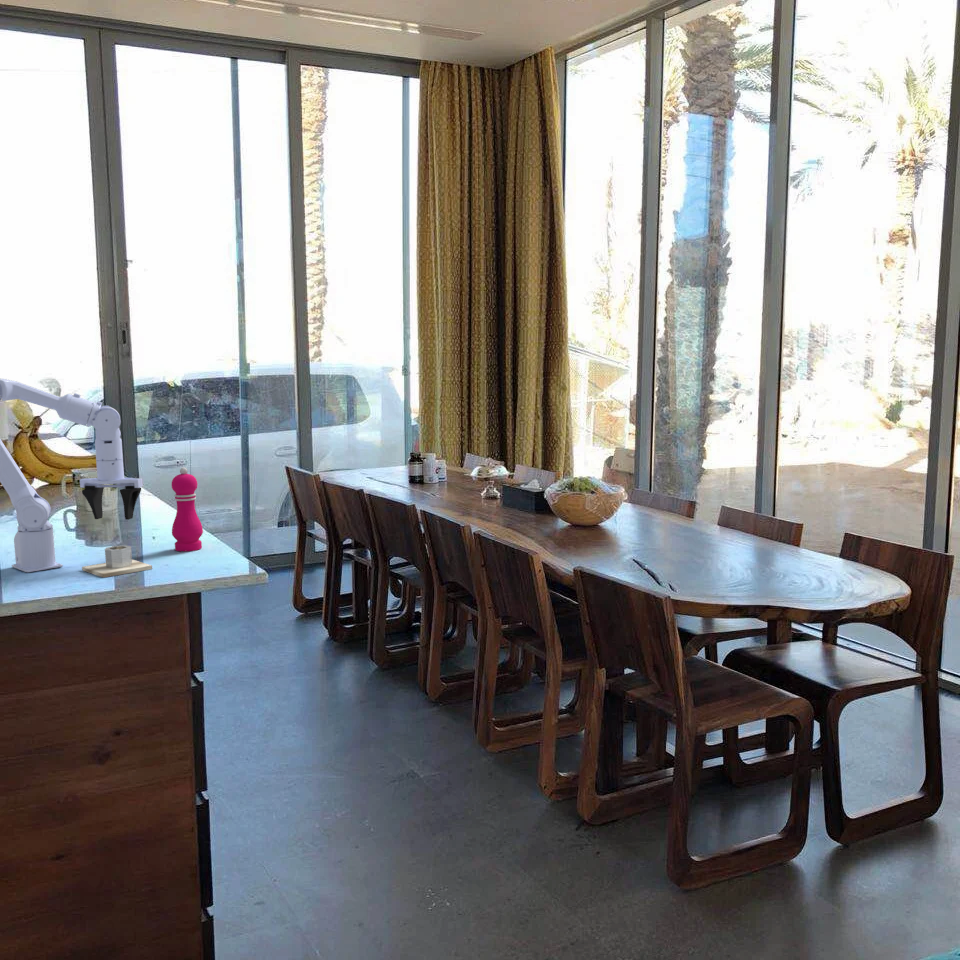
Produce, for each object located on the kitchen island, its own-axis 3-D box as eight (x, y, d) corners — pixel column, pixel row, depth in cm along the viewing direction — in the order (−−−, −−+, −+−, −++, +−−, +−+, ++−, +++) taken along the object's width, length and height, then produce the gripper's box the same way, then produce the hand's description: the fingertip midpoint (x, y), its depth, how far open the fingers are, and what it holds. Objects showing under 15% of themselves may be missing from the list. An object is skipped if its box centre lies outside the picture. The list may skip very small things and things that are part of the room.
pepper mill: (210, 547, 241) (205, 466, 238) (187, 553, 235) (182, 469, 232) (189, 545, 245) (184, 465, 242) (166, 550, 239) (161, 468, 236)
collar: (108, 564, 220) (107, 546, 220) (133, 562, 222) (131, 544, 221) (105, 568, 215) (103, 550, 215) (130, 567, 216) (128, 549, 216)
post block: (82, 570, 218) (80, 552, 218) (129, 562, 226) (128, 544, 225) (103, 577, 210) (102, 559, 210) (152, 568, 218) (151, 551, 218)
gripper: (70, 461, 222) (74, 521, 223) (129, 461, 219) (133, 522, 221) (88, 458, 229) (92, 516, 230) (145, 458, 226) (149, 516, 228)
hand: (113, 518), depth 226 cm, fingers open, 7 cm apart
